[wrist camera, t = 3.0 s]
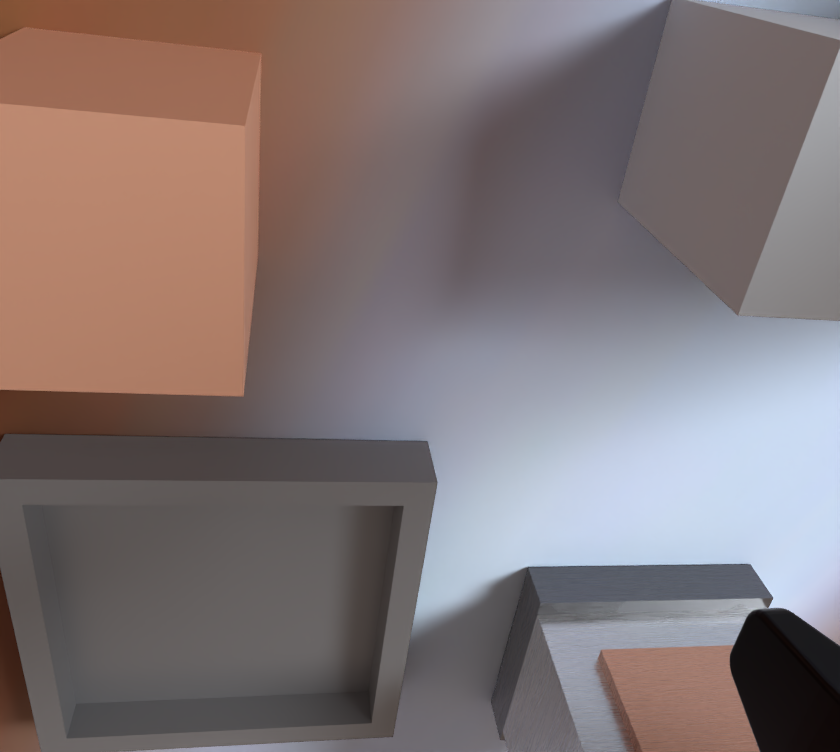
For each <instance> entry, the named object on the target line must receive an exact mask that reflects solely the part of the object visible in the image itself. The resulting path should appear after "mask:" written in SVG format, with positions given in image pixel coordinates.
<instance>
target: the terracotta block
mask: <svg viewBox="0 0 840 752" xmlns="http://www.w3.org/2000/svg"><path fill="white" fill-rule="evenodd" d="M260 99H261V53H255V52H246V51H237V50H228V49H219V48H209V47H200V46H191V45H182V44H173V43H164V42H154V41H145V40H136V39H127V38H118V37H109V36H99V35H90V34H81V33H72V32H63V31H54V30H45V29H35V28H26V27H24V28H22V29H20V30H18V31H16V32H14V33H12V34H9V35H7V36H5V37H3V38H1V39H0V390H30V391H66V392H102V393H137V394H173V395H209V396H244V386H245V377H246V367H247V358H248V348H249V339H250V329H251V319H252V310H253V300H254V291H255V281H256V271H257V262H258V225H259V162H260Z"/></svg>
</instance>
